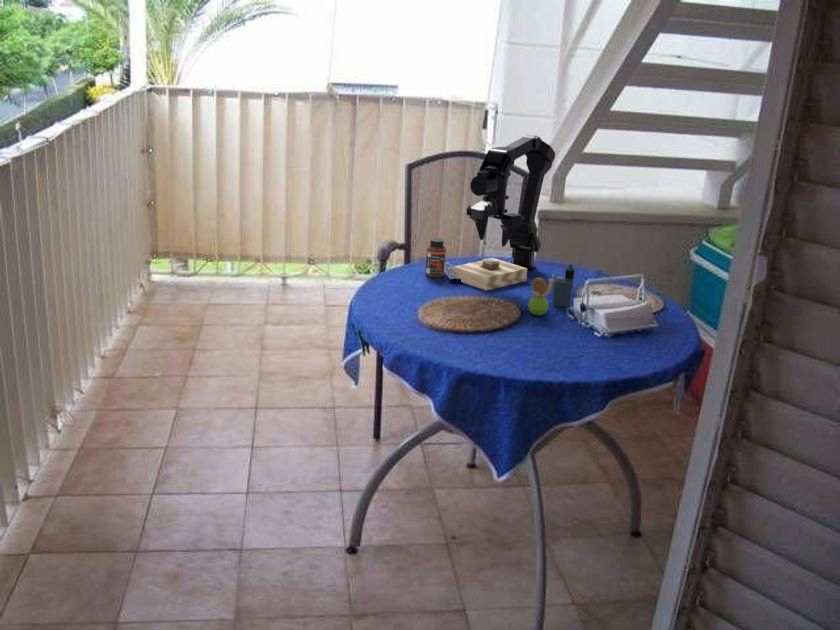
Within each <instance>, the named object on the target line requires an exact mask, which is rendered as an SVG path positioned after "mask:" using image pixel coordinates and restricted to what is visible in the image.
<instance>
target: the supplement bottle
mask: <svg viewBox="0 0 840 630" xmlns="http://www.w3.org/2000/svg"><path fill="white" fill-rule="evenodd" d="M444 242H445V241H444V239H442V238H431V239H430V243H429V245H428V246H427V247H426V258H425V259H426V260H425V270H424V271H425V275H426V276H427V277H430V278H443V277H444V276H445V269H446V257H447V256H446V254H447V248H446V247H445V246H444Z"/></svg>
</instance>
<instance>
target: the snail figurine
mask: <svg viewBox="0 0 840 630" xmlns="http://www.w3.org/2000/svg"><path fill="white" fill-rule="evenodd" d="M551 277H552V278H549V279H548V283H547V281H546V280H545V279H543V278H542V277H536V278H534V279H533V280H532V282H531V288H532V289H533V290H530V292H531V294H532V295H533V296H532V297H531V298H530V299H529V301H528V305H527V307H528V310H529V312H530V313H531V314H533V315H534V316H543V315H544V314H546V313H547V312H548V310H549V302H548V299H547V298H546V297H547V296H548V295H550V293H551V290H552V288H553V286H554V283H555V279H554V278H556V275H555V274H552V275H551Z"/></svg>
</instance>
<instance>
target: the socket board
mask: <svg viewBox="0 0 840 630" xmlns="http://www.w3.org/2000/svg"><path fill="white" fill-rule="evenodd" d="M493 258H494V259H497V260H500V263H499V269H497V270H492V271H490V270H487V269H484V268H482V263H483V262H482V260H479V261H478V260H477V261H474V262H469V263H464V264H458V265H454V266H453V269H452V270H453V271H452V276H453V275H454V276H457V277H459V278H460V279H461V283H463V284H466V285H468V286H473V287H475V288H478V289H480V290H483V291H489V290H494V289H498V288H503V287H506V286H510V285H514V284H515V285H516V284H518V283H519V284H520V283H523V282H527V275H528V270H527V268H524V267H521V266H518V265H514V264H513V263H511V262H507V261H505V260H501V259H498V258H495V257H493Z"/></svg>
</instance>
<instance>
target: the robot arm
mask: <svg viewBox="0 0 840 630" xmlns="http://www.w3.org/2000/svg"><path fill="white" fill-rule="evenodd" d="M524 155H525V156H526V159H525V160H526V161H525V165H526V167H527V170H528V176H527V181H526V185H525V190H524V193H523V199H522V204H521V209H520V213H515V212H512V213H508V208H506V200H509V195H507V186H508V177H510V176H511V175H512V174H511V172H510V171H509V170H510V169H511V168H512V167H513V166H514V165H515V161H516V160H517V159H519V158H521V157H523V156H524ZM555 158H556V153H555V150H554V149H553V147H552V146H551V145H550V144H548V143H547V142H545V141H543V140H542V139H541V137H539V136H538V135H535V134H524V135H523V136H522V137H520V138H519V139H517V140H515V141H514V142H511V143H509V144H507V145H506V146H496V147H492V148H489V149H488V150H487V153H486V154H485V156H484V158H483V161H482V162H481V165H480V167H479V169H478V171H477V174H476V175H475V176H474V177H473V178H472V180H471V182H470V187H469V188H470V190H471V192H472V194H474V195H475V196H476V197H481V196H482V200H481V201H479V202H477V203H475V204H472V205H471V204H470V205H468V207H467V208H466V215H467V216H469V219H471V221H473V222H474V224H475V226H476V231H477V234H478V237H479V240H480V241H483V240H484V238H485V235H486V230H487V225H488V221H489V218H493V219H495V220H499V221H500V223H501V224H499V226H500V228H501V230H502V233H501V246H502V248H503V247H506V245H507V244H508V242H509V248H511V249H514V254H513V261H512V262H513V263H512V264H514V265H518V266H521V267H524V268H527V271H528V270H529V271H530V270H534V269H537V268H538V267H537V265H534V259H535V253H538V252H539V251H540V249H541V245H542V243H541V241H540V239H539V237H538V227H537V224H536V221H535V220H536V214H537V210H538V206H539V201H540V197H541V192H542V187H543V183H544V178H545V175H546V174H547V173H548V172H549V171H551V169H552V166H553V163H554V161H555Z"/></svg>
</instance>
